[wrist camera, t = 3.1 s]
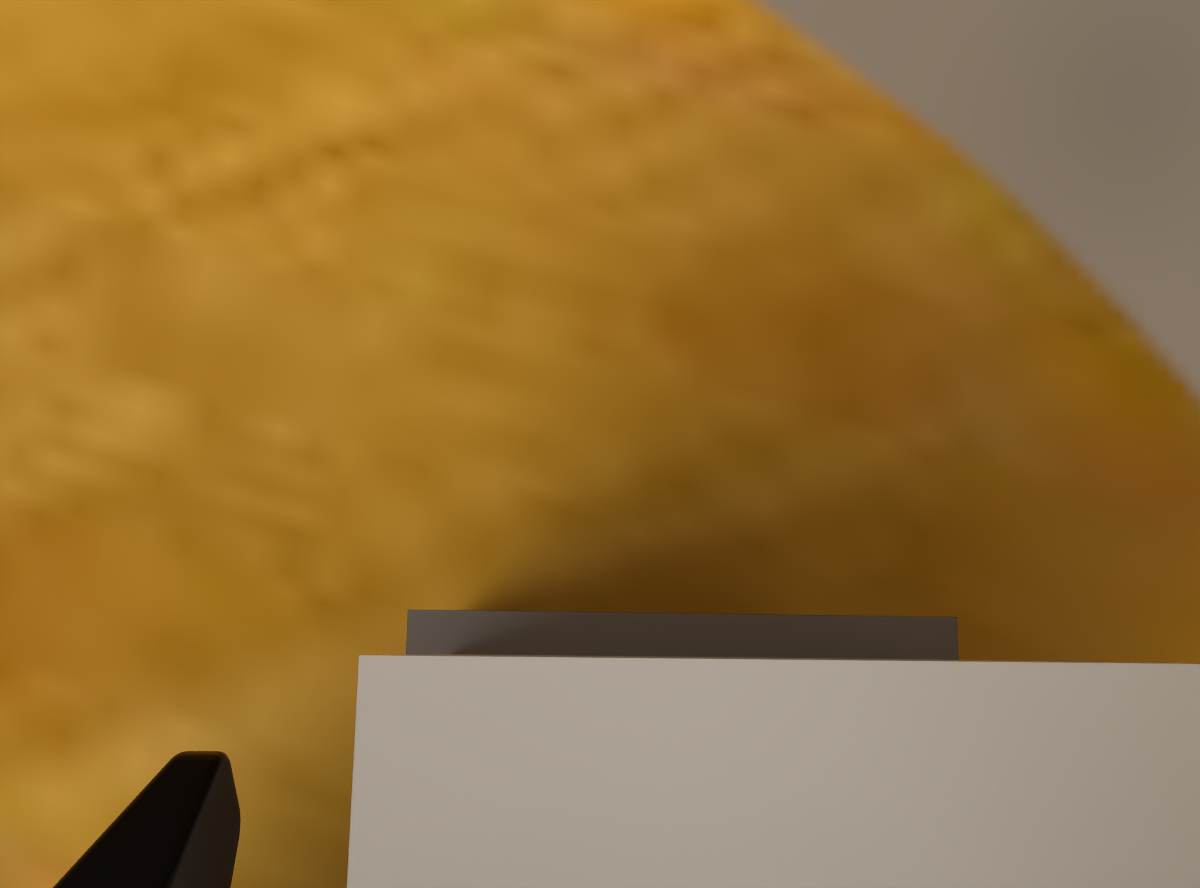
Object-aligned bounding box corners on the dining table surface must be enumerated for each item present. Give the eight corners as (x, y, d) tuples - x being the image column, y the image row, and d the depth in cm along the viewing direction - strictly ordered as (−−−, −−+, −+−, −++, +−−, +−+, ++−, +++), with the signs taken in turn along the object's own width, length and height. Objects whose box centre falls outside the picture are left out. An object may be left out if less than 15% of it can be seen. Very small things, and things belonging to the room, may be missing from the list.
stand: (814, 982, 19) (985, 1174, 12) (435, 986, 18) (381, 1188, 11) (804, 629, 20) (956, 617, 13) (449, 625, 19) (407, 610, 12)
